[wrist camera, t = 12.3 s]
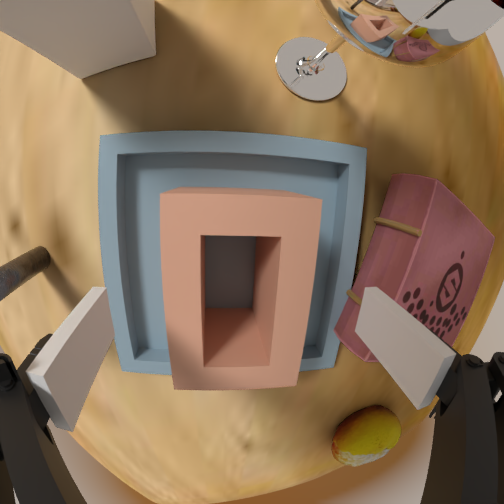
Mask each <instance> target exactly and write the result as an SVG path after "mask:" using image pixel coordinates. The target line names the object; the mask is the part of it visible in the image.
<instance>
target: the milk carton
mask: <svg viewBox="0 0 504 504" xmlns="http://www.w3.org/2000/svg"><path fill="white" fill-rule="evenodd" d="M0 31H2V32H4V33H6V34H7V35H9V36H11V37H13V38H14V39H16V40H18V41H20V42H21V43H23V44H25V45H26V46H28V47H30V48H31V49H33V50H35V51H36V52H38V53H40V54H41V55H43V56H44V57H46V58H48V59H49V60H51V61H53V62H54V63H56V64H57V65H59V66H60V67H62V68H64V69H65V70H67V71H68V72H70V73H71V74H73V75H74V76H76V77H77V78H79V79H83V78H85V77H88V76H91V75H93V74H96V73H99V72H102V71H105V70H108V69H111V68H114V67H117V66H120V65H123V64H127V63H130V62H134V61H137V60H141V59H145V58H149V57H153V56H155V55H156V41H155V0H0Z"/></svg>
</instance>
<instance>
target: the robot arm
mask: <svg viewBox="0 0 504 504" xmlns="http://www.w3.org/2000/svg"><path fill="white" fill-rule="evenodd" d="M355 332H356V333H357V335H358V336H359V337H360V338H361V339H362V341H363V342H364V343H365V344H366V346H367V347H368V348H369V349H370V351H371V352H372V353H373V354H374V355H375V357H376V358H377V359H378V360H379V362H380V363H381V364H382V365H383V367H384V368H385V369H386V370H387V372H388V373H389V374H390V375H391V377H392V378H393V379H394V381H395V382H396V383H397V384H398V386H399V387H400V388H401V389H402V391H403V392H404V393H405V395H406V396H407V397H408V398H409V400H410V401H411V402H412V404H413V405H414V406H415V407H416V409H417V410H418V409H421V408H423V407H426V406H428V405H430V403H431V402H432V400H433V398H434V397H435V395H437V396H438V397H439V398H440V399H439V400H438V402H437V404H436V405H435V407H434V408H433V410H432V412H431V413H430V415H429V417H430V418H431V417H432V415H433V414H434V413H435V412H436V415H435V417H434V418H435V427H434V436H433V444H432V451H431V457H430V463H429V469H428V474H427V479H426V483H425V488H424V492H423V496H422V500H421V503H420V504H504V352H496V353H495V354H494V355H493V357H492V359H491V361H490V362H485V363H484V362H483V361H482V360H481V359H480V358H478V357H477V356H474V355H470V354H466V355H463V356H461V355H460V354H459V353H458V352H456V351H455V350H454V349H453V348H452V347H451V346H450V345H448V344H447V343H446V342H444V340H443V339H442V338H440V337H438V335H437V334H436V333H435V332H433V331H432V330H430V329H429V328H427V327H425V326H424V325H423V324H422V323H420V322H419V321H418V320H417V319H416V318H414V317H413V316H412V315H411V314H410V313H408V312H407V311H406V310H405V309H404V308H402V307H401V306H400V305H399V304H397V303H396V302H395V301H394V300H392V299H391V298H390V297H389V296H388V295H386V294H385V293H384V292H383V291H381V290H380V289H379V288H378V287H365V290H364V295H363V299H362V304H361V308H360V312H359V316H358V320H357V324H356V328H355ZM114 337H115V332H114V327H113V322H112V317H111V311H110V306H109V300H108V294H107V287H92V289H91V290H90V291H89V292H88V293H87V294H86V295H85V296H84V298H83V299H82V300H81V301H80V302H79V303H78V305H77V306H76V307H75V308H74V309H73V310H72V312H71V313H70V314H69V315H68V317H67V318H66V319H65V320H64V321H63V323H62V324H61V325H60V326H59V328H58V329H57V330H56V331H55V333H54V334H48V335H46V336H45V337H43V338H42V339H40V341H39V342H38V343H37V344H36V346H35V348H33V349H32V351H31V352H30V354H29V355H28V356H27V357H26V359H25V360H24V361H23V363H22V364H21V365H20V367H19V368H18V369H17V370H16V368H15V366H14V364H13V361H12V359H11V357H10V356H9V355H7V354H3V353H0V504H16V503H15V497H14V491H13V488H14V490H15V493H16V496H17V498H18V501H19V503H20V504H87V503H86V501H85V499H84V498H83V496H82V495H81V493H80V491H79V489H78V487H77V486H76V484H75V482H74V480H73V479H72V477H71V475H70V473H69V471H68V469H67V467H66V465H65V463H64V461H63V459H62V456H61V455H60V452H59V450H58V448H57V445H56V443H55V441H54V438H53V436H52V433H51V431H50V429H49V427H48V426H47V422H48V420H49V418H51V420H52V421H53V423H54V425H55V426H56V427H57V428H61V429H64V430H68V431H72V432H73V430H74V427H75V425H76V422H77V420H78V417H79V415H80V412H81V410H82V407H83V405H84V402H85V400H86V398H87V395H88V393H89V390H90V388H91V386H92V384H93V381H94V379H95V377H96V375H97V372H98V370H99V368H100V366H101V364H102V362H103V359H104V357H105V355H106V353H107V351H108V349H109V347H110V345H111V343H112V341H113V339H114ZM499 390H501V392H502V395H501V397H500V398H499V400H498V401H497V402H495V400H494V398H495V397H496V395H497V394H498V392H499Z"/></svg>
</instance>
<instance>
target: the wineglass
mask: <svg viewBox="0 0 504 504" xmlns="http://www.w3.org/2000/svg"><path fill="white" fill-rule="evenodd" d="M315 3H316V5H317V7H318V9H319V11H320V12H321V14H322V15H323V17H324V18H325V20H326V21H327V22H328V23H329V25H330V26H331V27H332V28H333V29H334V30H335V31H336V32H337V33H338V35H337V36H336V37H335V38H334V39H333V40H332V41H331V42H330V43H329V44H326V43H324V42H322V41H320V40H318V39H314V38H309V37H299V38H294V39H291V40H289V41H287V42H286V43H284V44H283V45H282V46H281V47H280V49H279V50H278V52H277V55H276V59H275V66H276V71H277V74H278V76H279V78H280V80H281V81H282V83H283V84H284V85H285V86H286V87H287V88H288V89H289V90H290V91H292V92H293V93H294V94H296V95H298V96H300V97H302V98H305V99H308V100H313V101H323V100H328V99H331V98H333V97H335V96H336V95H338V94H339V93H340V92H341V91H342V89H343V88H344V86H345V83H346V78H347V73H346V67H345V64H344V62H343V60H342V58H341V57H340V55H339V54H338V53H337V52H336V51H337V50H338V49H339V48H340V47H342V46H343V45H344V44H345V43H346V42H348V43H350V44H351V45H353V46H354V47H356V48H357V49H359V50H360V51H362V52H364V53H366V54H368V55H370V56H372V57H374V58H376V59H379V60H381V61H384V62H387V63H391V64H394V65H399V66H404V67H415V68H421V67H430V66H434V65H437V64H440V63H442V62H445V61H446V60H448V59H450V58H452V57H453V56H455V55H456V54H458V53H459V52H461V51H462V50H463V49H465V48H466V47H467V46H468V45H470V44H471V43H472V42H473V41H475V40H476V39H477V38H478V37H479V36H481V35H482V34H483V33H484V32H485V31H486V30H488V29H489V28H490V27H491V26H492V25H493V24H495V23H496V22H497V21H498V20H499V19H501V18H502V17H503V16H504V0H315Z"/></svg>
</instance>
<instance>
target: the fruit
mask: <svg viewBox="0 0 504 504" xmlns="http://www.w3.org/2000/svg"><path fill="white" fill-rule="evenodd" d="M400 434H401V425H400V422H399V420H398V418H397V416H396V415H395V414H394V413H393V412H392V411H390V410H389V409H387V408H384V407H383V406H381V405H374V406H370V407H367V408H364V409H362V410H359V411H358V412H355V413H354V414H352V415H351V416H349V417H347V418H346V419H345V420H344V421H343V422H342V423H341V424H340V425H339V426H338V428H337V431H336V432H335V435H334V437H333V444H332V449H331V450H332V453H333V457H334V458H335V459H336V460H338V461H339V462H341V463H343V464H345V465H351V466H359V465H362V464H365V463H369V462H372V461H375V460H376V459H378V458H381V457H383V456H384V455H385V454H387V453H388V451H389V450H390V449H391V448H393V447H394V446H395V445H396V443H397V442H398V440H399V438H400Z"/></svg>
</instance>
